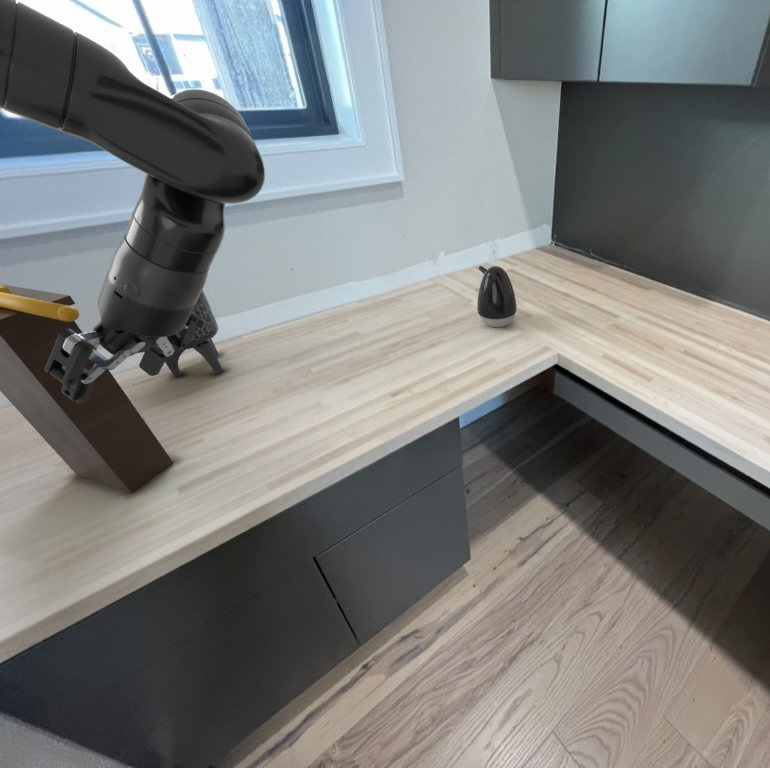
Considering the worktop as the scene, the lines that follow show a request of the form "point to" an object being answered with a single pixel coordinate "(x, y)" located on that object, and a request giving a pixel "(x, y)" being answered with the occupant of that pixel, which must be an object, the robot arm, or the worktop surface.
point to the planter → (200, 338)
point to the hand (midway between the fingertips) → (114, 383)
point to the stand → (74, 404)
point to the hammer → (37, 306)
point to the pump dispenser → (496, 297)
